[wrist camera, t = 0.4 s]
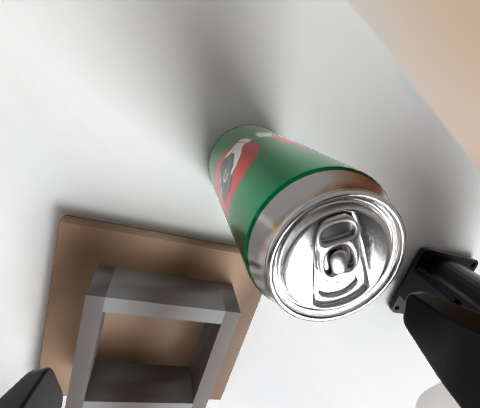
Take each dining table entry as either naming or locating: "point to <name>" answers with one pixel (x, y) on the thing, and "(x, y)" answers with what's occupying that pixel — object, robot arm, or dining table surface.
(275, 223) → the soda can
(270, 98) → the dining table surface
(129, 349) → the keeper board
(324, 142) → the dining table surface
